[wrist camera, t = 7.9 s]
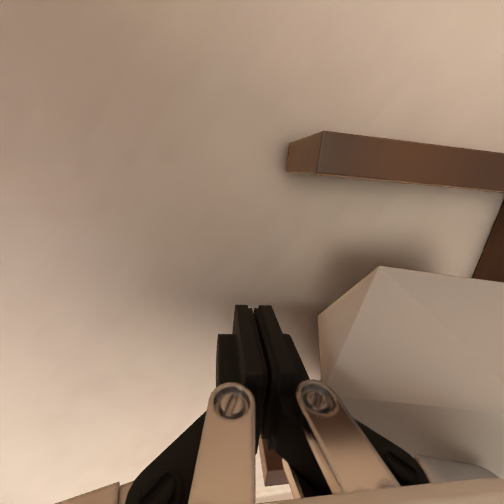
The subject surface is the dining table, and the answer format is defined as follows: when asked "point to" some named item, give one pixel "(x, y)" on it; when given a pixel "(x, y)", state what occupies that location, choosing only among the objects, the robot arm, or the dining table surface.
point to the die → (421, 362)
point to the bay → (402, 171)
